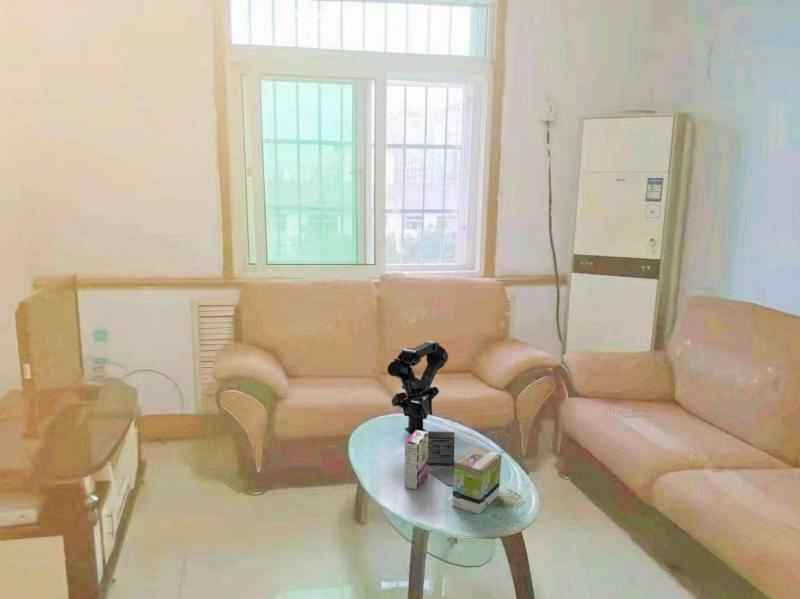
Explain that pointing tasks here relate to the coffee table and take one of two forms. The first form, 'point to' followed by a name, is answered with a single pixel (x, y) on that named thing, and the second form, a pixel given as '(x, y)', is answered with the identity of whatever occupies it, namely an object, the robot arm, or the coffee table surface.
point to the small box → (440, 448)
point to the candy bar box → (416, 459)
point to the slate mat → (445, 474)
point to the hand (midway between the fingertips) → (423, 416)
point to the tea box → (476, 480)
